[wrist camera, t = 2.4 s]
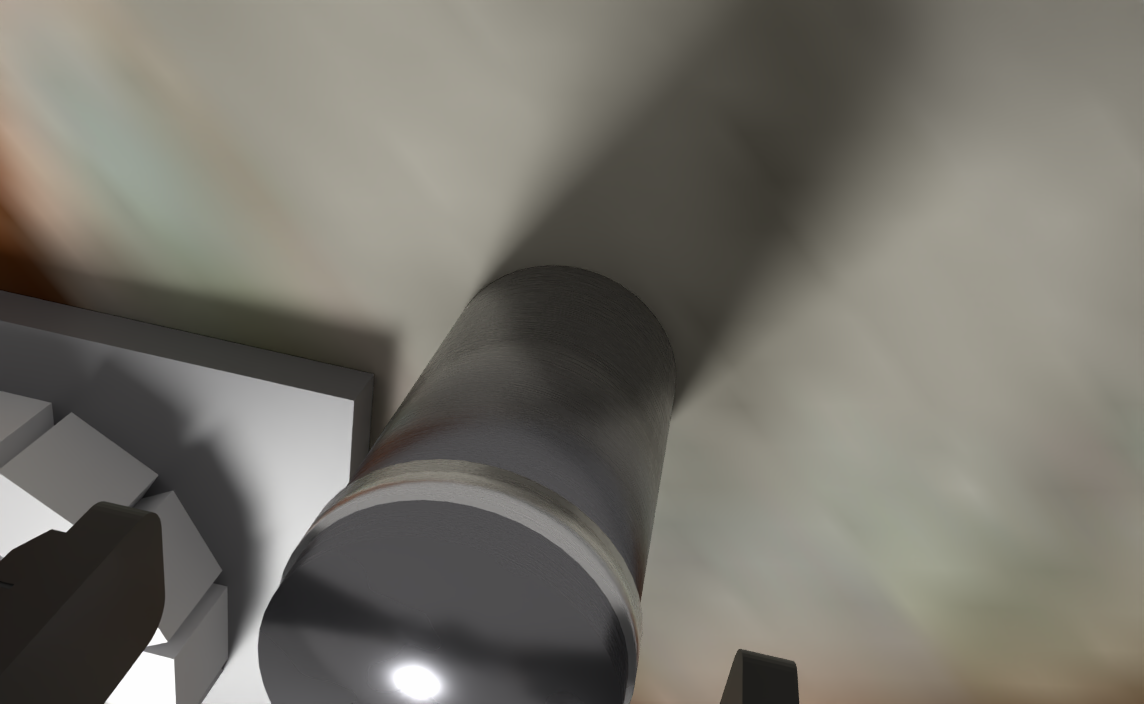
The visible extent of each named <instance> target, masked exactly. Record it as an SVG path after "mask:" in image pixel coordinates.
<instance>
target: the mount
mask: <svg viewBox="0 0 1144 704" xmlns="http://www.w3.org/2000/svg"><path fill="white" fill-rule="evenodd" d="M373 384H374V374H371V373H367V372H362V371H358V370H353V369H349V368H344V367H340V366H335V365H331V364H327V363H322V362H318V361H313V360H309V359H304V358H300V357H295V356H291V355H286V354H282V353H278V352H273V351H269V350H264V349H260V348H255V347H251V346H246V345H242V344H237V343H233V342H229V341H224V340H220V339H215V338H211V337H206V336H202V335H197V334H193V333H188V332H184V331H180V330H175V329H171V328H166V327H162V326H157V325H153V324H148V323H144V322H139V321H135V320H131V319H126V318H122V317H117V316H113V315H108V314H104V313H99V312H95V311H90V310H86V309H82V308H77V307H73V306H68V305H64V304H59V303H55V302H50V301H46V300H41V299H37V298H33V297H28V296H24V295H19V294H15V293H10V292H6V291H1V290H0V561H1V560H2V559H3V558H4V557H5V556H6V555H7V554H8V553H9V552H10V551H11V550H12V549H14V548H16V547H18V546H20V545H22V544H24V543H26V542H28V541H30V540H31V539H33V538H35V537H37V536H39V535H41V534H43V533H45V532H47V531H49V530H51V529H53V530H58V531H62V532H67V531H68V530H69V529H70V528H71V527H72V526H73V525H74V524H75V523H76V522H77V521H78V520H79V519H80V518H81V517H82V516H83V515H84V514H85V513H86V512H87V511H88V510H89V509H90V508H91V507H92V506H93V505H95V504H96V503H98V502H101V501H106V502H110V503H115V504H119V505H123V506H128V507H132V508H136V509H141V510H145V511H150V512H154V513H156V514H157V515H158V516H159V518H160V520H161V526H162V543H163V562H164V580H165V605H164V610H163V614H162V618H161V621H160V623H159V626H158V628H157V630H156V633H155V635H154V636H153V638H152V640H151V641H150V643H149V644H148V646H147V647H146V648H145V650H144V651H143V652H142V654H141V655H140V656H139V658H138V659H137V660H136V662H135V663H134V664H133V666H132V667H131V668H130V670H129V671H128V672H127V674H126V675H125V676H124V678H123V679H122V680H121V682H120V683H119V684H118V686H117V687H116V688H115V690H114V691H113V692H112V694H111V695H110V696H109V698H108V699H107V700H106V702H105V703H104V704H271V702H270V700H269V698H268V695H267V692H266V690H265V687H264V685H263V681H262V677H261V673H260V668H259V661H258V638H259V629H260V625H261V622H262V618H263V615H264V612H265V610H266V608H267V606H268V604H269V602H270V600H271V598H272V596H273V595H274V593H275V592H276V590H277V589H278V587H279V585H280V581H281V578H282V574H283V571H284V569H285V566H286V564H287V562H288V560H289V558H290V556H291V554H292V553H293V551H294V550H295V548H296V547H297V545H298V544H299V542H300V541H301V540H302V538H303V537H304V535H305V534H306V532H307V531H308V529H309V528H310V526H311V525H312V523H313V522H314V521H315V519H316V518H317V516H318V515H319V514H320V512H321V511H322V510H323V508H324V507H325V505H326V504H327V503H328V502H329V501H330V500H331V499H332V498H333V497H334V496H335V495H336V494H337V493H339V492H340V491H341V490H342V489H344V488H345V487H346V486H347V484H348V483H349V481H350V480H351V478H352V477H353V475H354V474H355V472H356V471H357V469H358V468H359V466H360V465H361V463H362V462H363V460H364V459H365V457H366V456H367V454H368V453H369V440H370V426H371V412H372V398H373Z"/></svg>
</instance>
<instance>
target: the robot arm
mask: <svg viewBox="0 0 1144 704" xmlns="http://www.w3.org/2000/svg"><path fill="white" fill-rule="evenodd" d="M164 605H165V580H164V562H163V543H162V526H161V520H160V518H159V516H158V515H157V514H156V513H154V512H150V511H145V510H141V509H136V508H132V507H128V506H123V505H119V504H115V503H110V502H106V501H101V502H98V503H96V504H95V505H93V506H92V507H91V508H90V509H89V510H88V511H87V512H86V513H85V514H84V515H83V516H82V517H81V518H80V519H79V520H78V521H77V522H76V523H75V524H74V525H73V526H72V527H71V528H70V529H69V530H68V531H67V532H62V531H58V530H53V529H51V530H49V531H47V532H45V533H43V534H41V535H39V536H37V537H35V538H33V539H31V540H30V541H28V542H26V543H24V544H22V545H20V546H18V547H16V548H14V549H12V550H11V551H10V552H9V553H8V554H7V555H6V556H5V557H4V558H3V559H2V560H1V561H0V704H104V703H105V702H106V700H107V699H108V698H109V696H110V695H111V694H112V692H113V691H114V690H115V688H116V687H117V686H118V684H119V683H120V682H121V680H122V679H123V678H124V676H125V675H126V674H127V672H128V671H129V670H130V668H131V667H132V666H133V664H134V663H135V662H136V660H137V659H138V658H139V656H140V655H141V654H142V652H143V651H144V650H145V648H146V647H147V646H148V644H149V643H150V641H151V640H152V638H153V636H154V635H155V633H156V630H157V628H158V626H159V623H160V621H161V618H162V614H163V610H164ZM720 704H799V693H798V677H797V667H796V664H795V662H794V661H790V660H786V659H782V658H777V657H773V656H769V655H764V654H760V653H756V652H751V651H747V650H742V649H739V650H738V651H737V653H736V655H735V658H734V661H733V664H732V667H731V670H730V673H729V677H728V680H727V683H726V686H725V689H724V692H723V695H722V699H721V702H720Z"/></svg>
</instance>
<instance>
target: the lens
mask: <svg viewBox="0 0 1144 704" xmlns="http://www.w3.org/2000/svg"><path fill="white" fill-rule="evenodd" d="M675 388H676V368H675V361H674V356H673V352H672V349H671V345H670V343H669V340H668V338H667V336H666V334H665V332H664V330H663V328H662V327H661V325H660V323H659V322H658V320H657V318H656V317H655V316H654V315H653V314H652V312H651V311H650V310H649V309H648V307H647V306H646V305H645V304H644V303H643V302H642V301H640V300H639V299H638V298H637V297H636V296H635V295H634V294H632V293H631V292H630V291H628V290H627V289H626V288H624V287H623V286H621V285H619V284H618V283H616V282H614V281H612V280H610V279H608V278H606V277H604V276H601V275H599V274H596V273H594V272H590V271H586V270H583V269H579V268H573V267H566V266H540V267H532V268H527V269H523V270H519V271H516V272H513V273H511V274H508V275H506V276H503V277H502V278H500V279H498V280H496V281H494V282H492V283H491V284H490V285H488V286H487V287H486V288H484V289H483V290H482V291H480V292H479V293H478V294H477V295H476V296H475V297H474V298H473V299H472V301H471V302H470V303H469V304H468V306H467V307H466V309H465V310H464V311H463V313H462V314H461V316H460V317H459V319H458V320H457V322H456V323H455V325H454V326H453V328H452V329H451V331H450V332H449V334H448V335H447V337H446V338H445V340H444V341H443V343H442V344H441V346H440V347H439V348H438V350H437V351H436V353H435V354H434V356H433V357H432V359H431V360H430V362H429V363H428V365H427V366H426V368H425V369H424V371H423V372H422V374H421V375H420V377H419V378H418V380H417V381H416V383H415V384H414V386H413V387H412V389H411V390H410V392H409V393H408V395H407V396H406V398H405V399H404V401H403V402H402V404H401V405H400V407H399V408H398V410H397V411H396V413H395V414H394V416H393V417H392V419H391V420H390V422H389V423H388V425H387V426H386V428H385V429H384V431H383V432H382V434H381V435H380V437H379V438H378V439H377V441H376V442H375V444H374V445H373V447H372V448H371V450H370V451H369V453H368V454H367V456H366V457H365V459H364V460H363V462H362V463H361V465H360V466H359V468H358V469H357V471H356V472H355V474H354V475H353V477H352V478H351V480H350V481H349V483H348V484H347V486H346V487H345V488H344V489H342V490H341V491H340V492H339V493H337V494H336V495H335V496H334V497H333V498H332V499H331V500H330V501H329V502H328V503H327V504H326V505H325V507H324V508H323V510H322V511H321V512H320V514H319V515H318V516H317V518H316V519H315V521H314V522H313V523H312V525H311V526H310V528H309V529H308V531H307V532H306V534H305V535H304V537H303V538H302V540H301V541H300V542H299V544H298V545H297V547H296V548H295V550H294V551H293V553H292V554H291V556H290V558H289V560H288V562H287V564H286V566H285V569H284V571H283V574H282V578H281V581H280V585H279V587H278V589H277V590H276V592H275V593H274V595H273V596H272V598H271V600H270V602H269V604H268V606H267V608H266V610H265V612H264V615H263V618H262V622H261V625H260V629H259V638H258V661H259V668H260V673H261V677H262V681H263V685H264V687H265V690H266V692H267V695H268V698H269V700H270V702H271V704H629V703H630V701H631V698H632V695H633V691H634V685H635V678H636V672H637V666H638V659H639V653H640V646H641V640H642V633H643V632H642V610H641V604H640V602H641V596H642V590H643V584H644V577H645V571H646V565H647V559H648V553H649V547H650V541H651V535H652V529H653V523H654V517H655V510H656V504H657V498H658V492H659V486H660V480H661V474H662V468H663V462H664V456H665V450H666V443H667V437H668V431H669V425H670V419H671V413H672V407H673V401H674V395H675Z"/></svg>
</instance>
